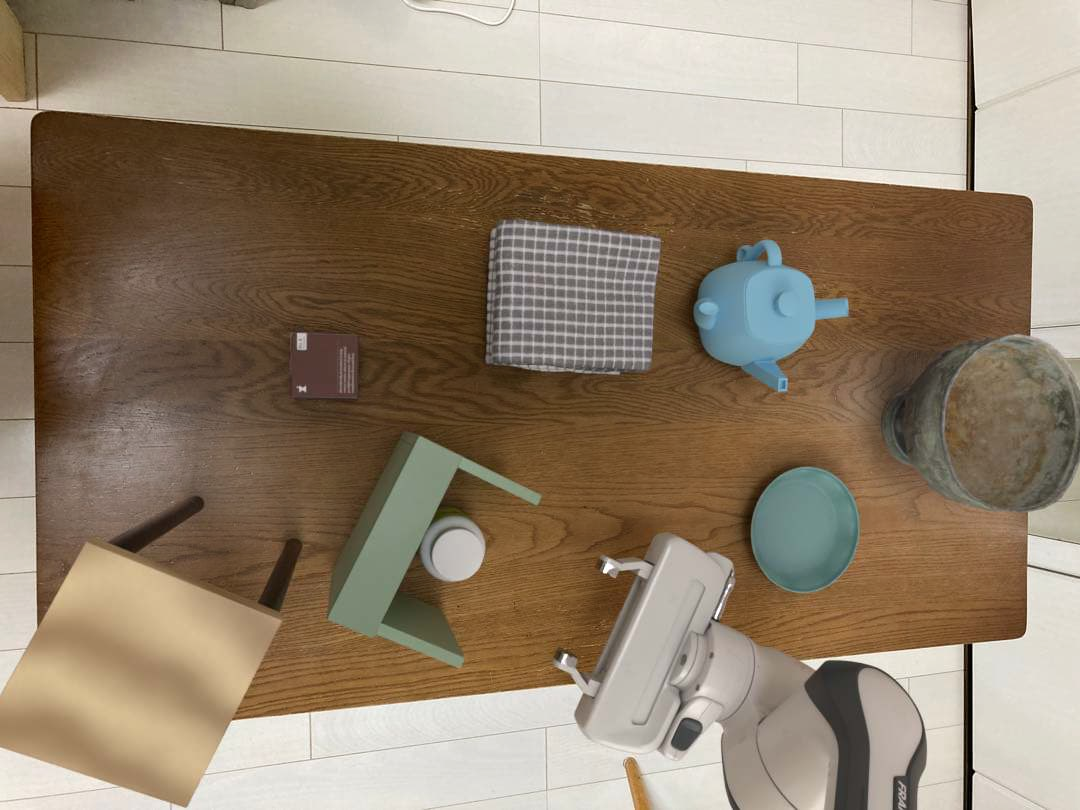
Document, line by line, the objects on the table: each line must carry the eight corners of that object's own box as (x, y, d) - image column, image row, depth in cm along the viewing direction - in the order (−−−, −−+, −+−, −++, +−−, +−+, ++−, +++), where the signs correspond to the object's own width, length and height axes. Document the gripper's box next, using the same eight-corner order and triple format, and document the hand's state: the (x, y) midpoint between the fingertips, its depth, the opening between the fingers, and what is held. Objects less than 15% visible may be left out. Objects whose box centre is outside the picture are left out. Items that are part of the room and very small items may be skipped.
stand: (191, 795, 43) (186, 808, 42) (-12, 728, 41) (-26, 739, 39) (284, 613, 45) (282, 620, 44) (94, 536, 42) (85, 541, 41)
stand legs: (248, 651, 69) (190, 791, 43) (130, 605, 66) (-7, 726, 41) (305, 541, 71) (280, 615, 45) (191, 492, 68) (96, 541, 42)
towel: (484, 229, 76) (499, 208, 68) (643, 242, 80) (674, 225, 73) (481, 371, 75) (496, 366, 68) (641, 376, 80) (672, 373, 73)
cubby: (438, 618, 74) (463, 675, 58) (331, 573, 71) (326, 619, 55) (505, 479, 76) (547, 497, 60) (403, 430, 73) (419, 435, 57)
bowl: (982, 357, 93) (1099, 347, 78) (968, 505, 92) (1084, 522, 77) (855, 334, 88) (955, 318, 73) (839, 490, 87) (937, 505, 72)
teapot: (729, 407, 83) (787, 406, 72) (652, 321, 81) (700, 307, 70) (808, 318, 86) (876, 304, 75) (736, 233, 84) (795, 205, 73)
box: (357, 401, 72) (358, 400, 65) (294, 400, 70) (288, 398, 63) (358, 341, 72) (359, 333, 65) (296, 339, 70) (290, 330, 63)
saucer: (752, 603, 84) (765, 609, 81) (727, 482, 83) (739, 484, 80) (855, 568, 87) (871, 573, 85) (832, 452, 87) (847, 453, 84)
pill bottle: (483, 524, 75) (505, 542, 65) (451, 575, 74) (469, 602, 64) (433, 494, 74) (447, 507, 63) (401, 545, 73) (409, 568, 62)
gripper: (760, 572, 67) (638, 510, 64) (671, 779, 64) (539, 726, 61) (726, 558, 73) (613, 502, 70) (643, 747, 70) (522, 697, 67)
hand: (578, 608), depth 66 cm, fingers open, 8 cm apart
